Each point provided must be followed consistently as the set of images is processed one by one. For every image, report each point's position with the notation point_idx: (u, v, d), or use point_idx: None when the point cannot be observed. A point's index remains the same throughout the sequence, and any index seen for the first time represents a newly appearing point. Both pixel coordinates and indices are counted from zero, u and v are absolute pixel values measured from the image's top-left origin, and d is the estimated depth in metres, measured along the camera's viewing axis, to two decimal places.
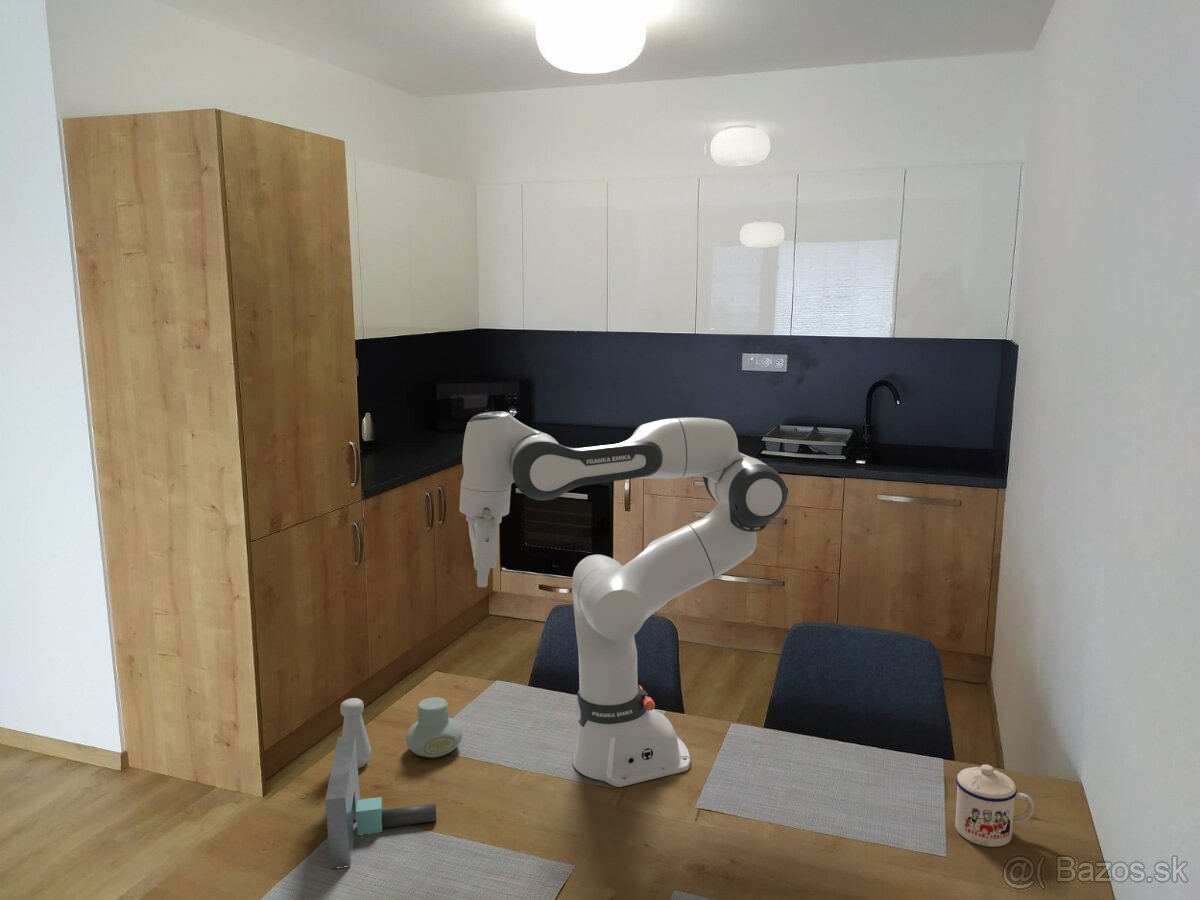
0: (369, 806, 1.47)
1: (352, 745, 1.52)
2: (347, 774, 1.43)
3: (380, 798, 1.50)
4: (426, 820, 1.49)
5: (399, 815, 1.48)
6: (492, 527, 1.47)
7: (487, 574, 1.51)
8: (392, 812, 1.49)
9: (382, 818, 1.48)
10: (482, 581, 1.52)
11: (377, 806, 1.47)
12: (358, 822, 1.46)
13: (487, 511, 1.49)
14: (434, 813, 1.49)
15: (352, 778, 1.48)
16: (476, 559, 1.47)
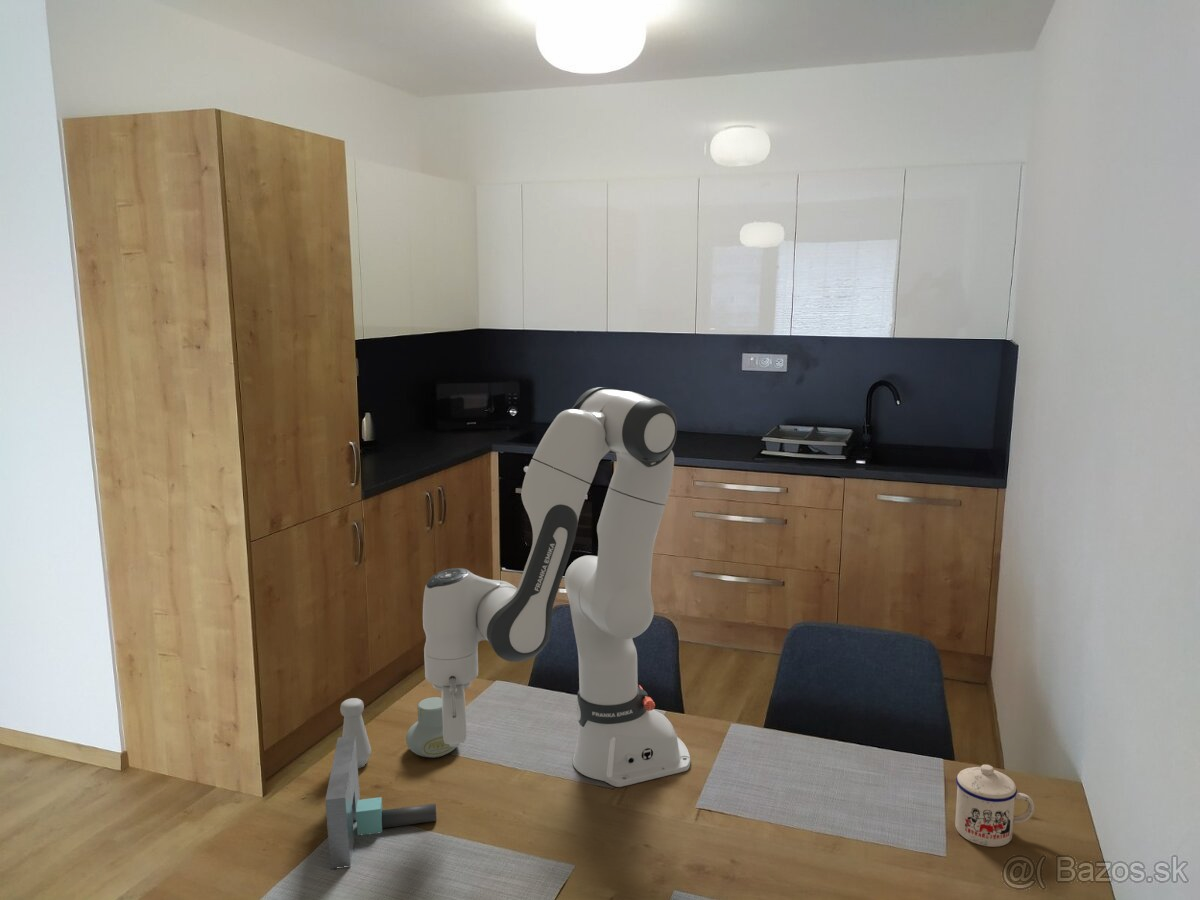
0: (369, 806, 1.47)
1: (352, 745, 1.52)
2: (347, 774, 1.43)
3: (380, 798, 1.50)
4: (426, 820, 1.49)
5: (399, 815, 1.48)
6: (459, 701, 1.39)
7: None
8: (392, 812, 1.48)
9: (382, 818, 1.48)
10: None
11: (377, 806, 1.47)
12: (358, 822, 1.46)
13: (452, 682, 1.40)
14: (434, 813, 1.49)
15: (352, 778, 1.48)
16: (444, 737, 1.38)
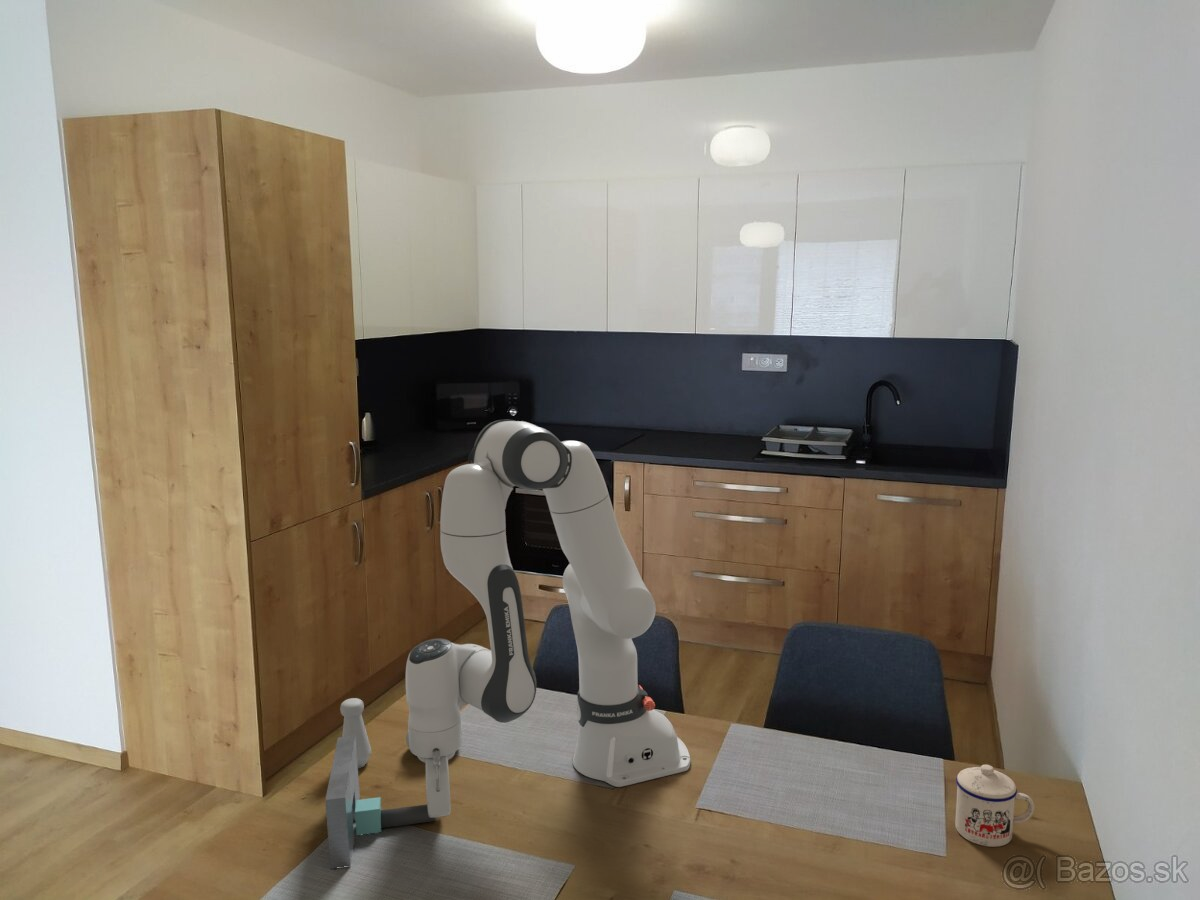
0: (368, 806, 1.47)
1: (352, 745, 1.52)
2: (347, 774, 1.43)
3: (379, 798, 1.50)
4: (425, 820, 1.49)
5: (398, 815, 1.48)
6: (442, 775, 1.40)
7: None
8: (391, 812, 1.48)
9: (381, 818, 1.48)
10: None
11: (376, 806, 1.47)
12: (357, 822, 1.46)
13: (436, 755, 1.42)
14: None
15: (352, 778, 1.48)
16: (428, 811, 1.40)
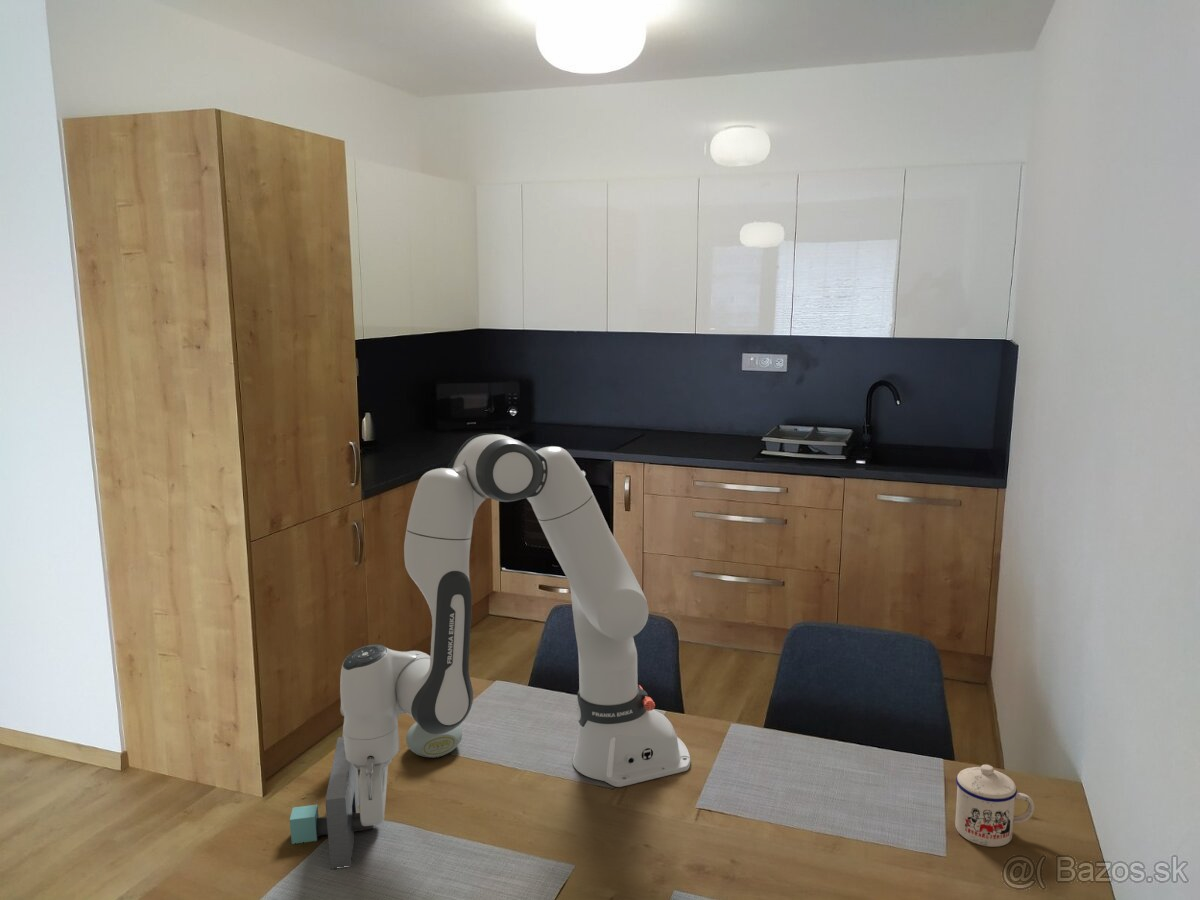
0: (304, 814, 1.46)
1: None
2: (347, 774, 1.43)
3: (316, 806, 1.48)
4: (362, 828, 1.47)
5: None
6: (375, 783, 1.38)
7: None
8: None
9: (317, 826, 1.46)
10: None
11: (312, 814, 1.46)
12: (292, 830, 1.44)
13: (369, 763, 1.40)
14: None
15: (352, 778, 1.48)
16: (361, 819, 1.38)
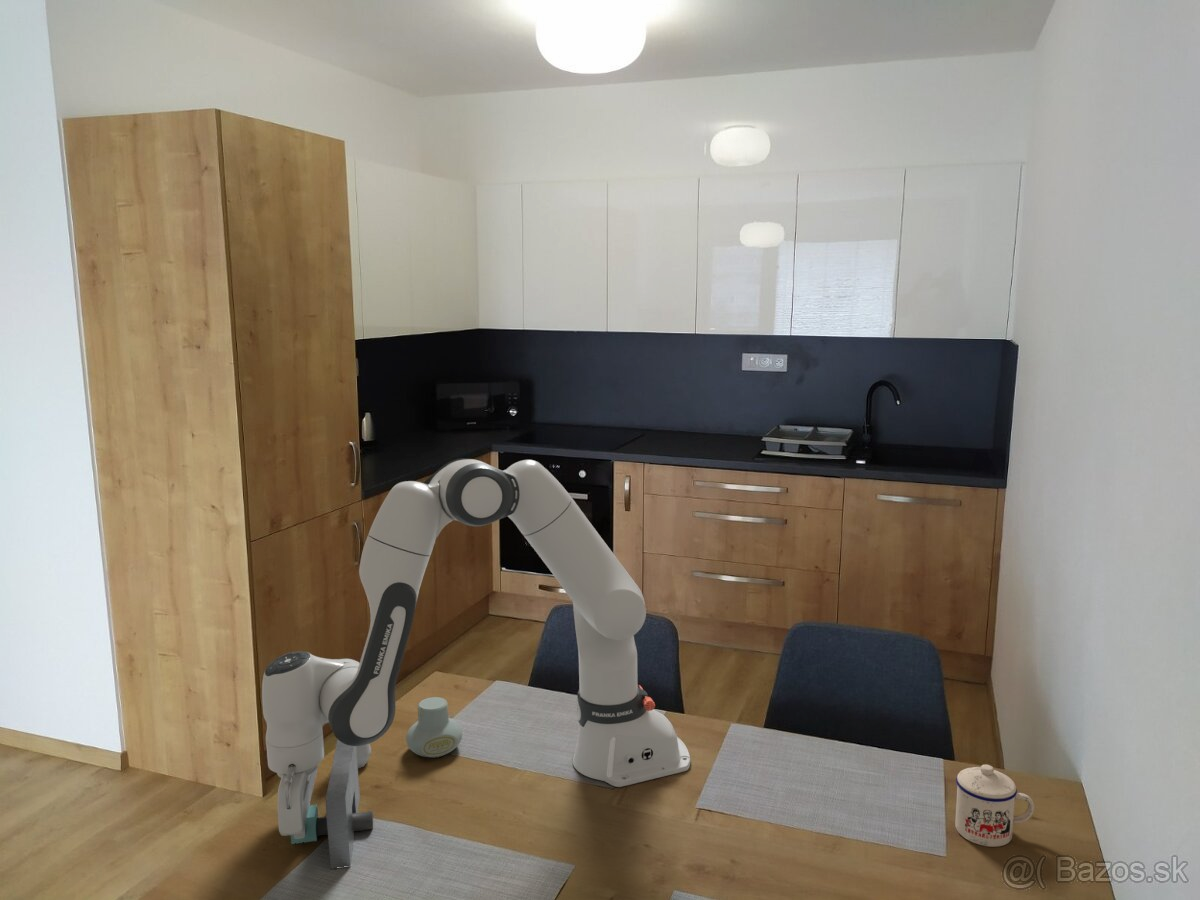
0: None
1: None
2: (347, 774, 1.43)
3: (315, 806, 1.48)
4: (362, 828, 1.47)
5: None
6: (294, 792, 1.36)
7: None
8: None
9: (316, 826, 1.46)
10: None
11: (312, 814, 1.45)
12: None
13: (290, 771, 1.38)
14: (370, 821, 1.47)
15: (352, 778, 1.48)
16: (279, 829, 1.36)
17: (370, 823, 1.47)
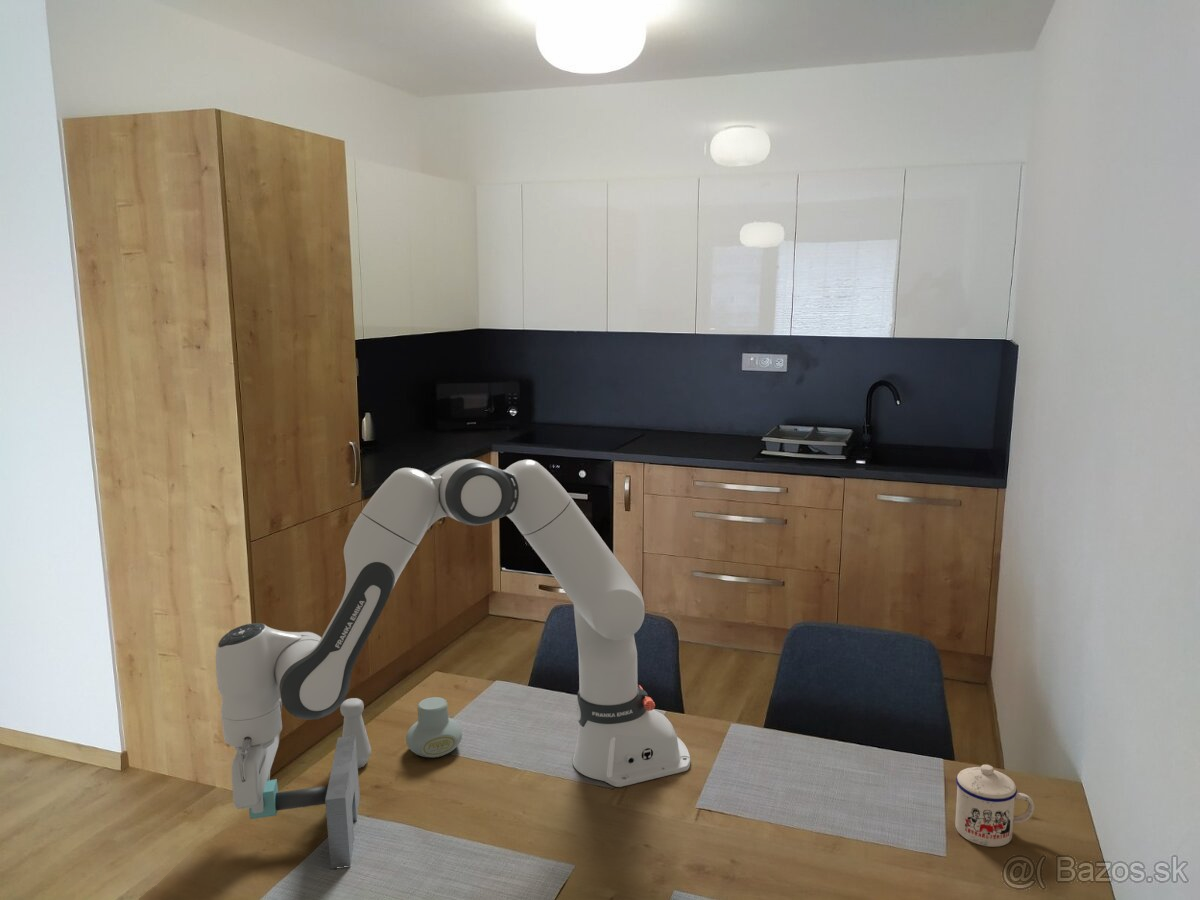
0: None
1: (352, 745, 1.52)
2: (347, 774, 1.43)
3: (275, 780, 1.46)
4: (322, 802, 1.45)
5: (293, 797, 1.44)
6: (248, 764, 1.34)
7: (260, 800, 1.40)
8: (286, 795, 1.44)
9: (276, 801, 1.44)
10: (257, 807, 1.41)
11: (270, 788, 1.43)
12: None
13: (244, 744, 1.36)
14: None
15: (352, 778, 1.48)
16: (234, 802, 1.33)
17: None
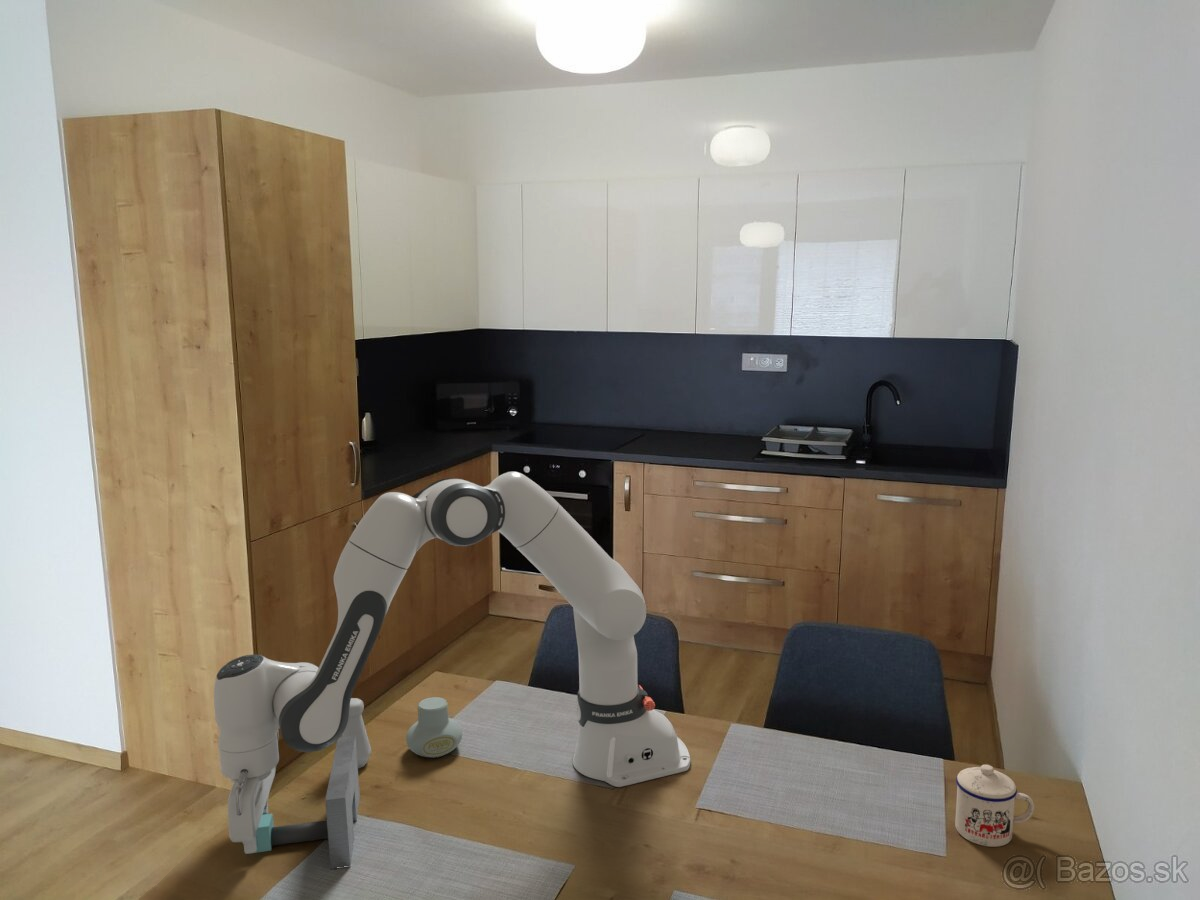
0: None
1: (352, 745, 1.52)
2: (347, 774, 1.43)
3: (271, 815, 1.46)
4: (318, 837, 1.45)
5: (289, 832, 1.44)
6: (245, 798, 1.34)
7: (253, 840, 1.38)
8: (282, 830, 1.44)
9: (271, 836, 1.43)
10: (249, 847, 1.39)
11: (266, 823, 1.43)
12: None
13: (241, 777, 1.36)
14: (326, 830, 1.45)
15: (352, 778, 1.48)
16: (230, 835, 1.33)
17: (326, 832, 1.45)
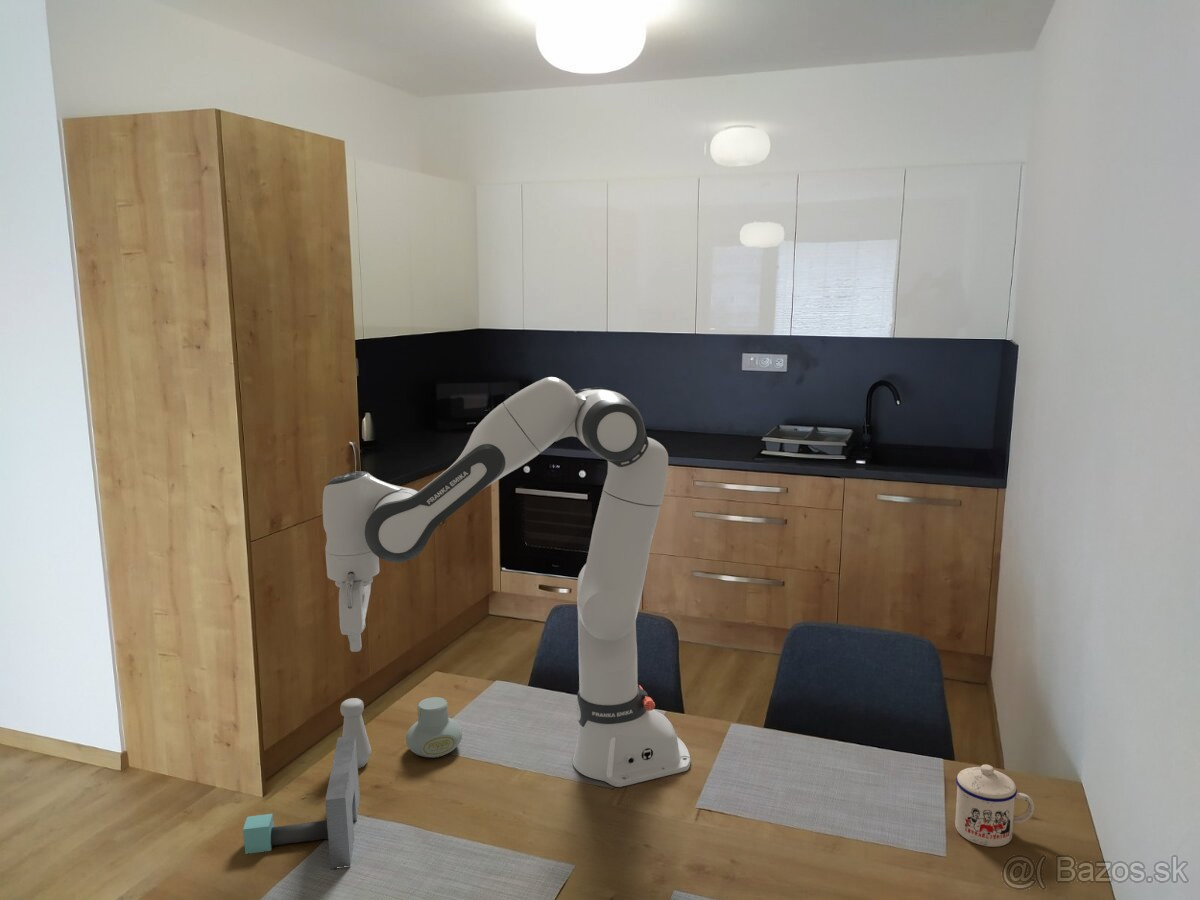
0: (258, 823, 1.43)
1: (352, 745, 1.52)
2: (347, 774, 1.43)
3: (271, 815, 1.46)
4: (318, 837, 1.45)
5: (289, 832, 1.44)
6: (354, 593, 1.45)
7: (359, 638, 1.49)
8: (282, 830, 1.44)
9: (271, 836, 1.43)
10: (355, 645, 1.50)
11: (266, 823, 1.43)
12: (245, 840, 1.42)
13: (350, 576, 1.47)
14: (326, 830, 1.45)
15: (352, 778, 1.48)
16: (341, 627, 1.44)
17: (326, 832, 1.45)
